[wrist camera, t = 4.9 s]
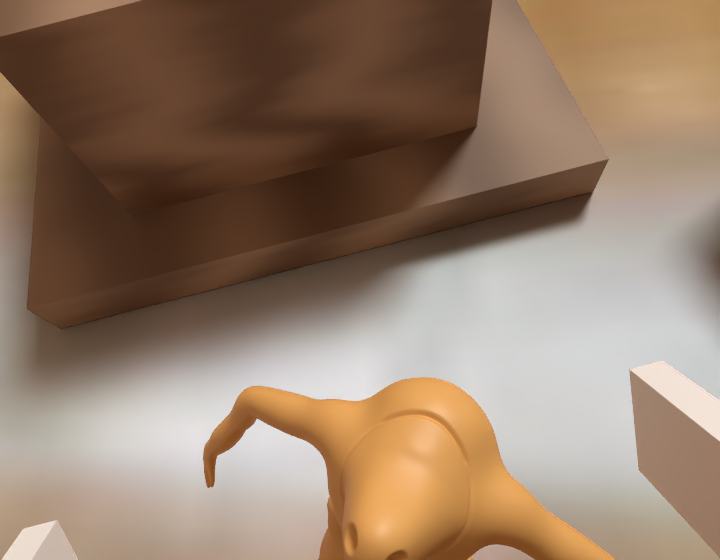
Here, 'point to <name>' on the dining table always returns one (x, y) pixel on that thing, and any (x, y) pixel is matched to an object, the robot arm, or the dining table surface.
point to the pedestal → (274, 136)
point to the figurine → (408, 474)
